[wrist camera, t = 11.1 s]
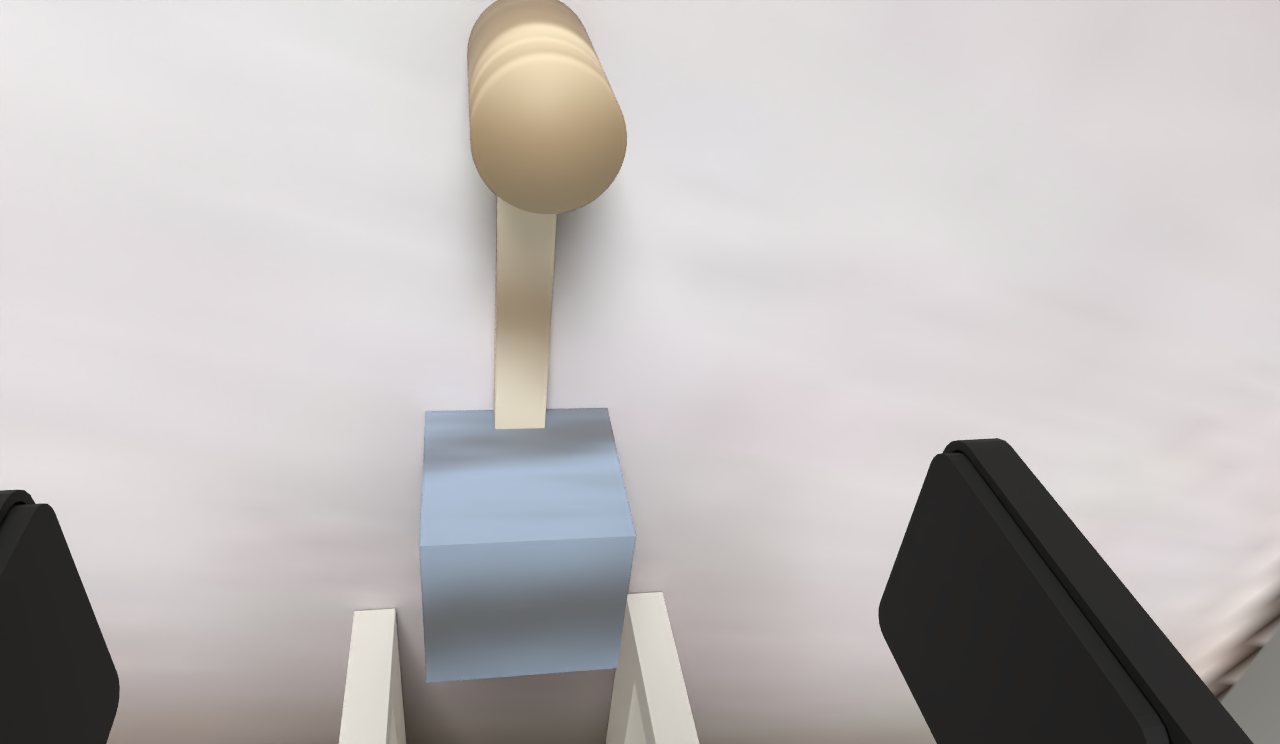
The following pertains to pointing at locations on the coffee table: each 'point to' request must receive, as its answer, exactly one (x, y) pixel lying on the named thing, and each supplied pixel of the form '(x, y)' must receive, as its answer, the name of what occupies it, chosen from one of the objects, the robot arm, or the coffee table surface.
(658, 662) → the white open frame box
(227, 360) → the coffee table surface
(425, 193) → the coffee table surface
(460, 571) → the block
